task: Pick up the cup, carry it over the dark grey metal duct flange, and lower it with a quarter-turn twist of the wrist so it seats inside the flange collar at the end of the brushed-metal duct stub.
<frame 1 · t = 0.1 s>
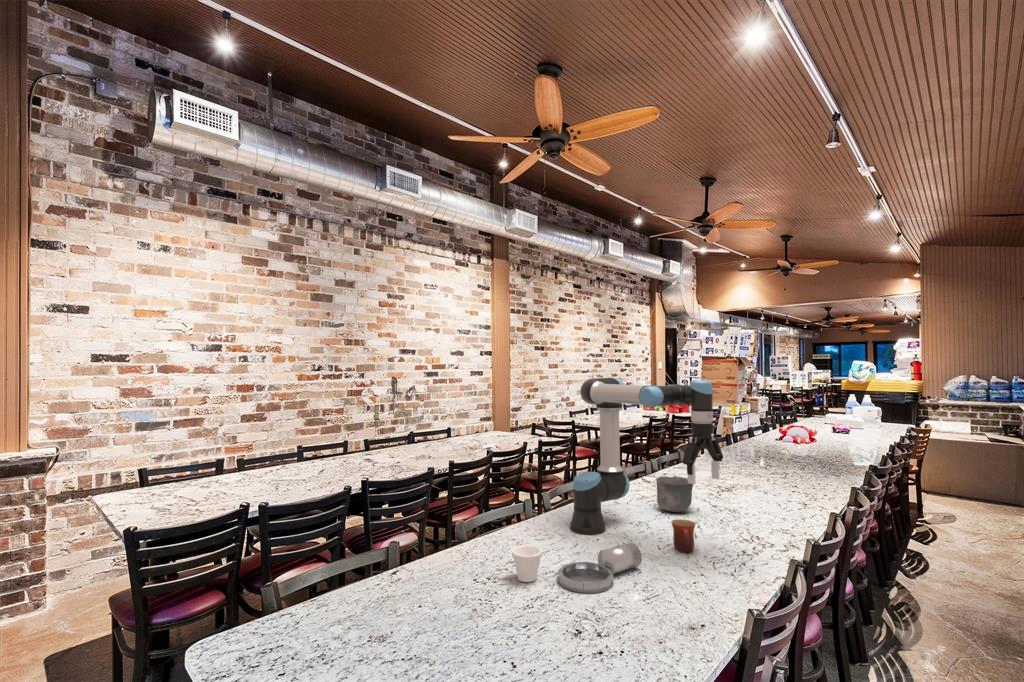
hand: (703, 481, 183), 28 cm above the table, fingers open, 13 cm apart
bowl: (675, 512, 240), on the table
flange: (585, 581, 164), on the table
mug: (684, 552, 189), on the table
cup: (527, 579, 166), on the table
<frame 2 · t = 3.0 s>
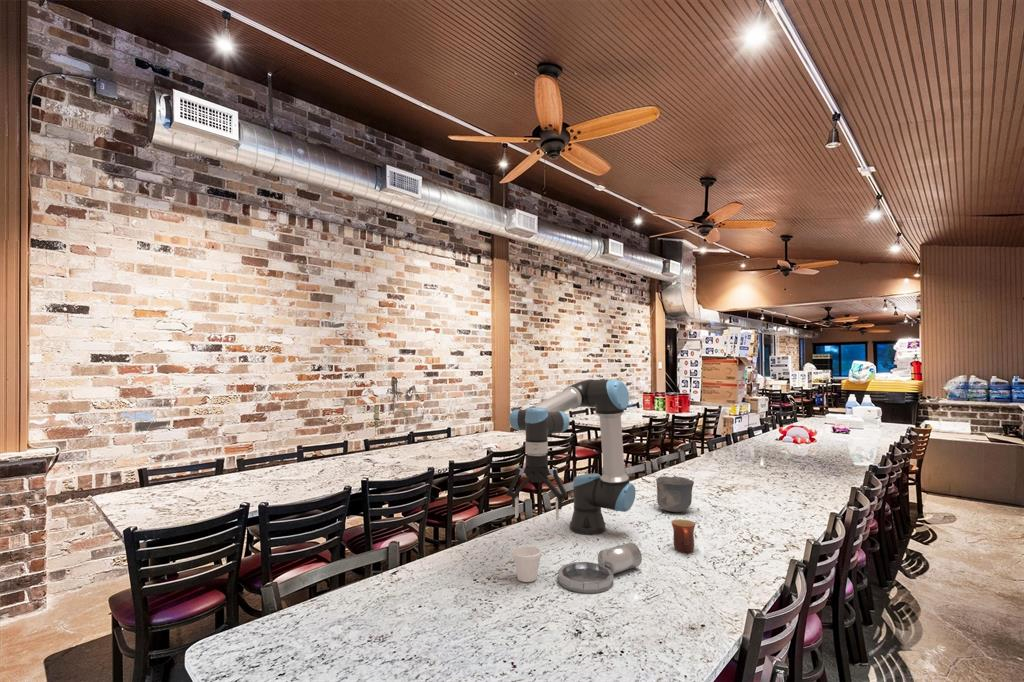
hand: (536, 518, 167), 20 cm above the table, fingers open, 13 cm apart
nothing on the table moved.
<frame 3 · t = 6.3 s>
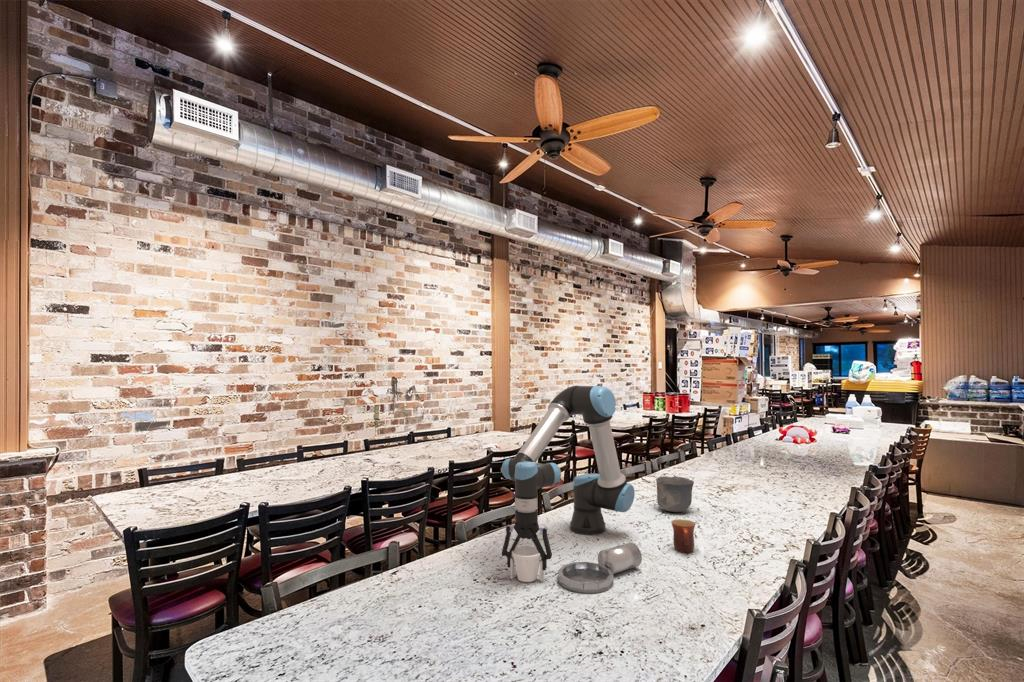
hand: (527, 578, 166), 0 cm above the table, fingers closed on cup, 9 cm apart
cup: (527, 579, 166), on the table, touching gripper
everything else where it was.
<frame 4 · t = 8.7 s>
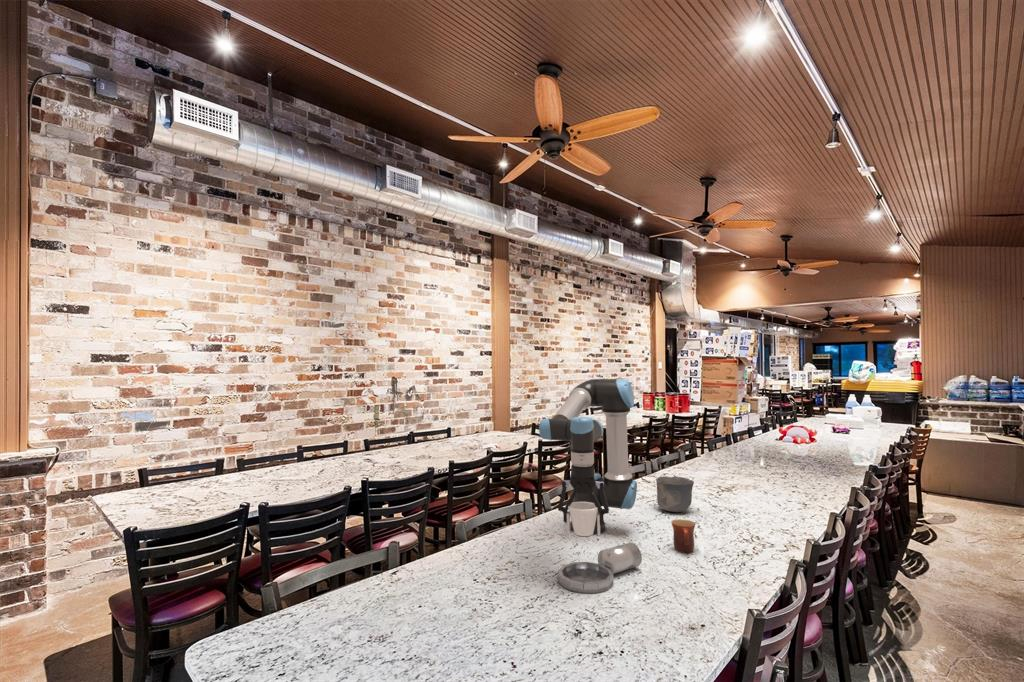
hand: (583, 533, 165), 15 cm above the table, fingers closed on cup, 9 cm apart
cup: (583, 534, 165), point 15 cm above the table, touching gripper
everything else where it was.
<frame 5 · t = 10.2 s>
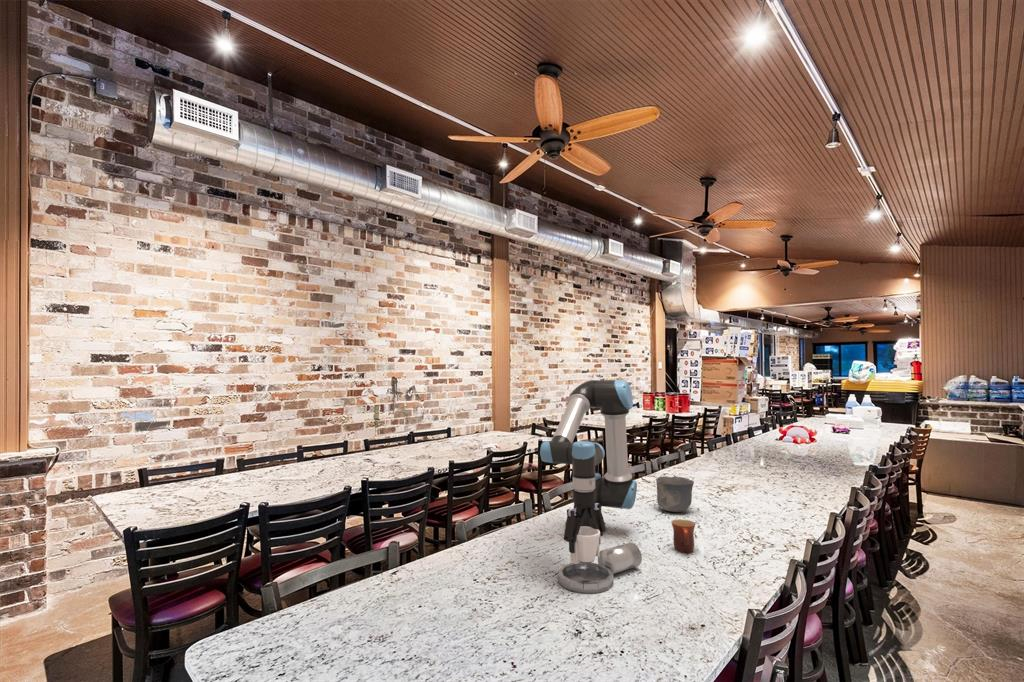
hand: (585, 558, 164), 7 cm above the table, fingers closed on cup, 9 cm apart
cup: (585, 560, 164), point 7 cm above the table, touching gripper
everything else where it was.
when the fingers open (3 cm above the table, at t = 11.6 s): cup drops 1 cm, resting on flange.
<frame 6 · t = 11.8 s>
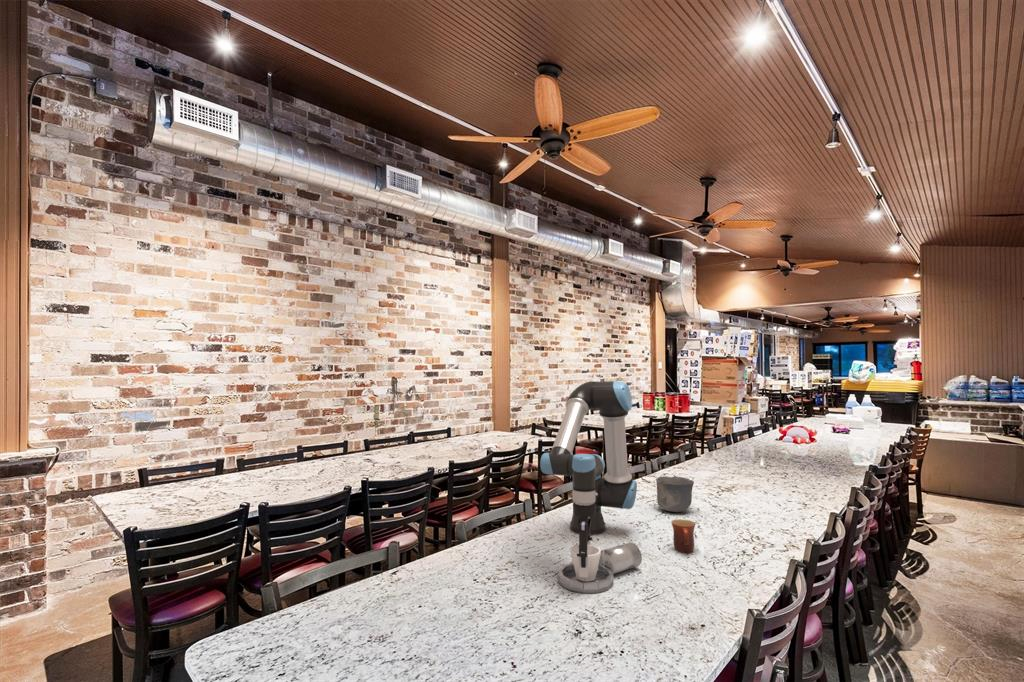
hand: (585, 568, 164), 4 cm above the table, fingers open, 12 cm apart
cup: (585, 579, 163), point 1 cm above the table, touching flange
everything else where it was.
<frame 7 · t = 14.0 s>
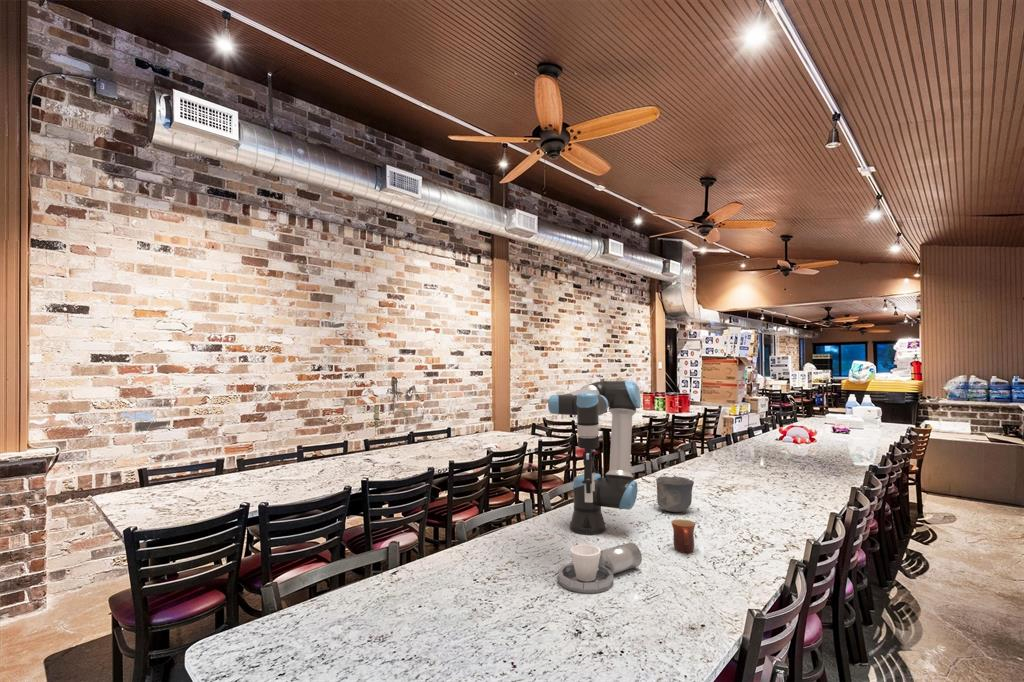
hand: (589, 496, 177), 24 cm above the table, fingers open, 13 cm apart
nothing on the table moved.
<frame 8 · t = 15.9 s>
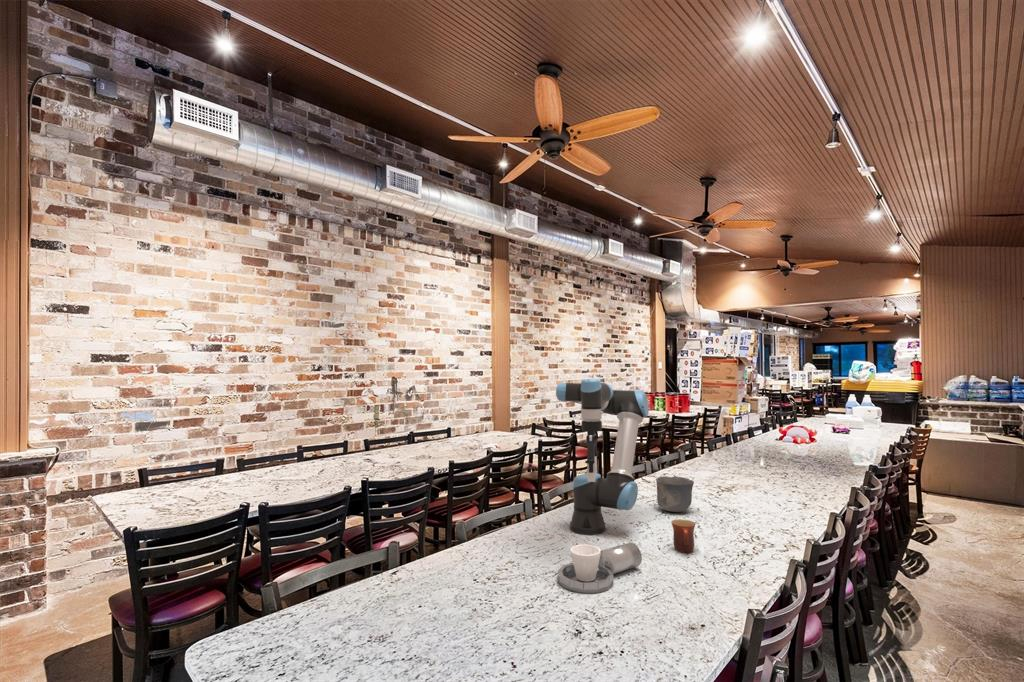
hand: (592, 477, 187), 29 cm above the table, fingers open, 13 cm apart
nothing on the table moved.
at the end: cup inside the target area on the flange (0.4 cm from its centre), point 0.8 cm above the flange's base; cup tilted 0°; the gripper is holding nothing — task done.
